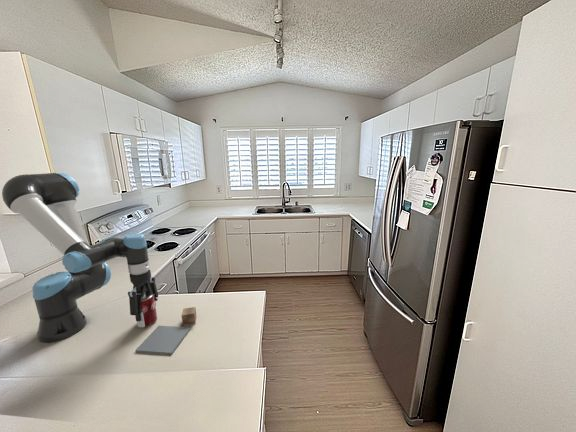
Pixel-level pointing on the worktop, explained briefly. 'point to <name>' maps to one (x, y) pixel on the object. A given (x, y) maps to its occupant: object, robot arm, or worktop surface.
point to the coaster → (163, 340)
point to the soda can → (149, 309)
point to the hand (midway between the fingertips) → (147, 320)
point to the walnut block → (189, 316)
